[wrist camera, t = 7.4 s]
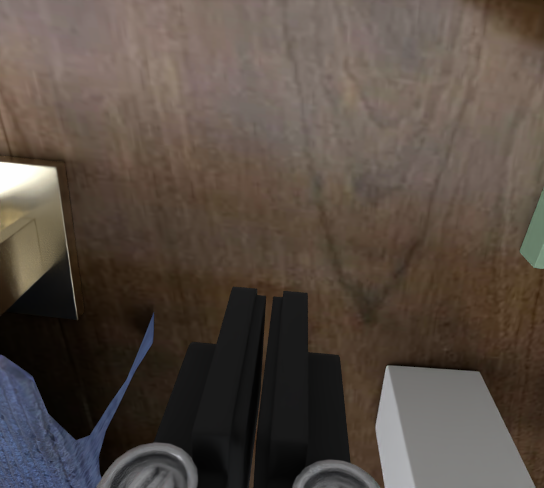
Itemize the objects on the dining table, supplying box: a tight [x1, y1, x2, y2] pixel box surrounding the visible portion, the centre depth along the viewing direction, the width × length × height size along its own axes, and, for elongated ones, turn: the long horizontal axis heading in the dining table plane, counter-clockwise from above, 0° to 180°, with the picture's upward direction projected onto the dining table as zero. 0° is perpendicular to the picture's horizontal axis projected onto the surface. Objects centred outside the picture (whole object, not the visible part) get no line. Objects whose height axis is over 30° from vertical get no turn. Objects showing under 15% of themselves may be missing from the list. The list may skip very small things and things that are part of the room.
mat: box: [0, 313, 154, 488], centre depth 43 cm, size 45×27×12 cm, turn 179°
